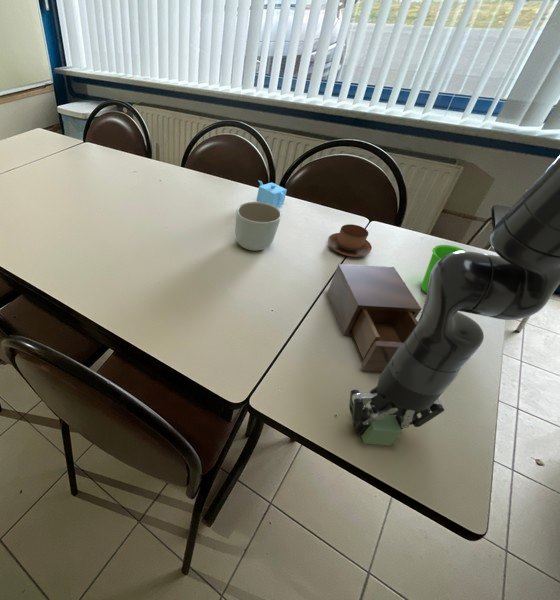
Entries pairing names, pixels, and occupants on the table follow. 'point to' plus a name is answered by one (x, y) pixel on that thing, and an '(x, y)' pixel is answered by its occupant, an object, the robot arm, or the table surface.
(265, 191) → the teapot
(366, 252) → the cup and saucer
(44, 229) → the table surface
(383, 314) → the drawer
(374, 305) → the cabinet
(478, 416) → the table surface
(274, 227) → the planter
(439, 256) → the cup
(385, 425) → the block
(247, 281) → the table surface
